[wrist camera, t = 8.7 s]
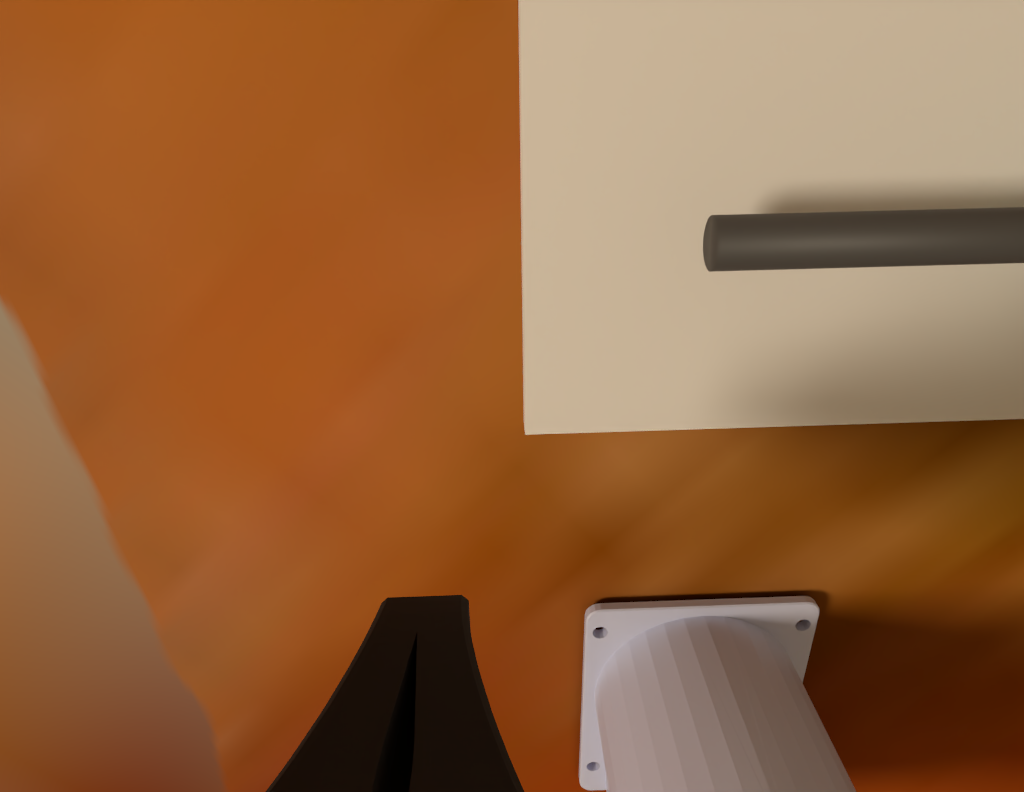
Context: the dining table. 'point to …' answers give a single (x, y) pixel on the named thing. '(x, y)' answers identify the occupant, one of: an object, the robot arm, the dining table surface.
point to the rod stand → (771, 213)
